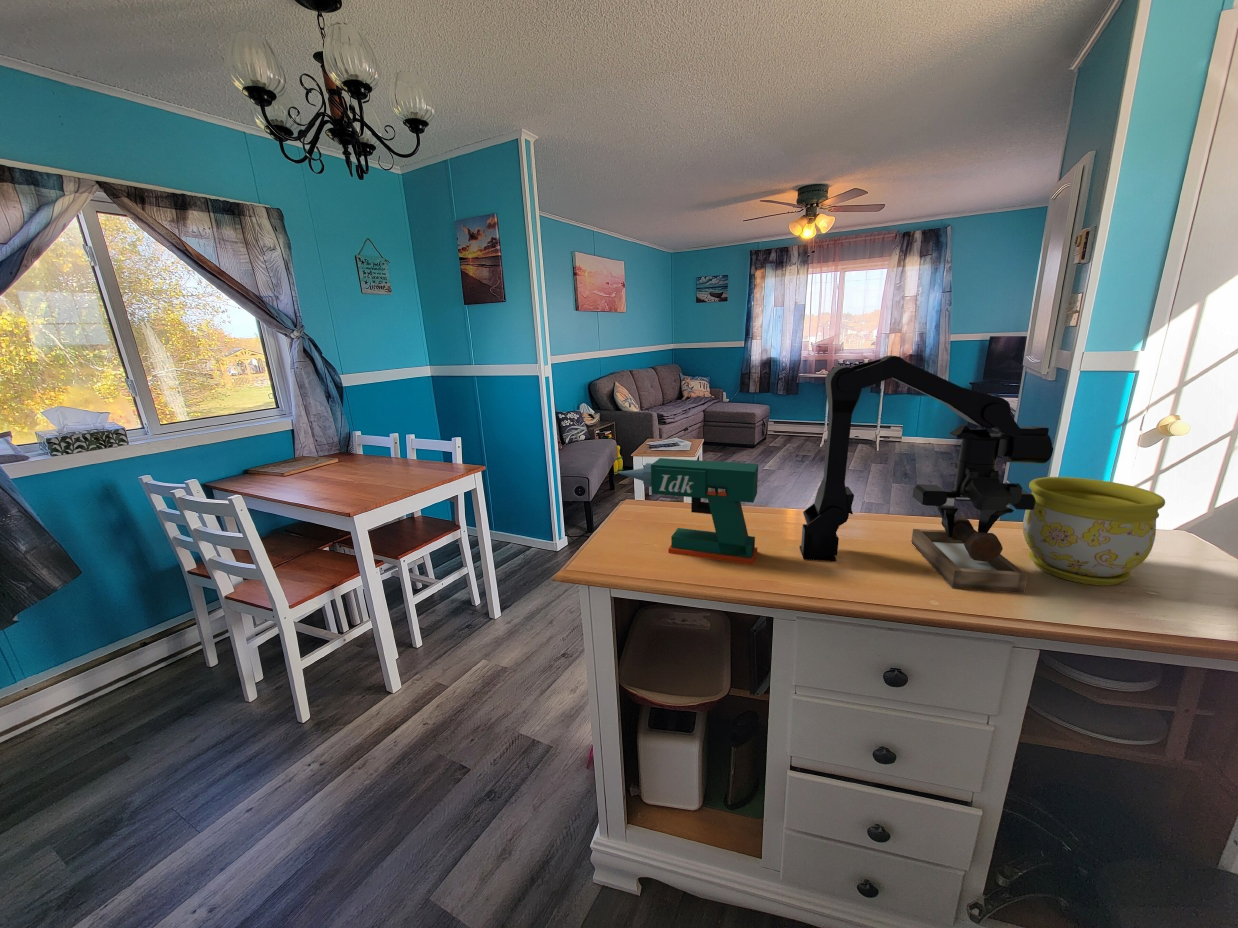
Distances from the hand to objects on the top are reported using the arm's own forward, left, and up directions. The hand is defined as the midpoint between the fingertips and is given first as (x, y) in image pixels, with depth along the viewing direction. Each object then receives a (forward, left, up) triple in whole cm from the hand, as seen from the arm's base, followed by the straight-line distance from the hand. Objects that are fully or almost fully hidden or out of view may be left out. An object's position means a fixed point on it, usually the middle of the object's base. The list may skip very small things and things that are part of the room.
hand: (964, 537), depth 94 cm
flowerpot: (+20, +1, -6) cm, 21 cm away
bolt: (0, 0, -2) cm, 2 cm away
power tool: (-56, 0, -6) cm, 56 cm away
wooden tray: (0, 0, -6) cm, 6 cm away
